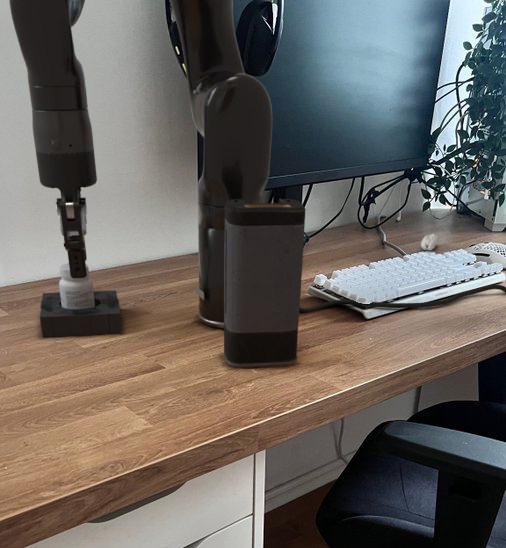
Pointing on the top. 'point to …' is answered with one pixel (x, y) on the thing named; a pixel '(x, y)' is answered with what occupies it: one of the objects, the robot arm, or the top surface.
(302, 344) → the top surface
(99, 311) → the socket plate
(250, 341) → the electronic device
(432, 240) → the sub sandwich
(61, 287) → the pill bottle
